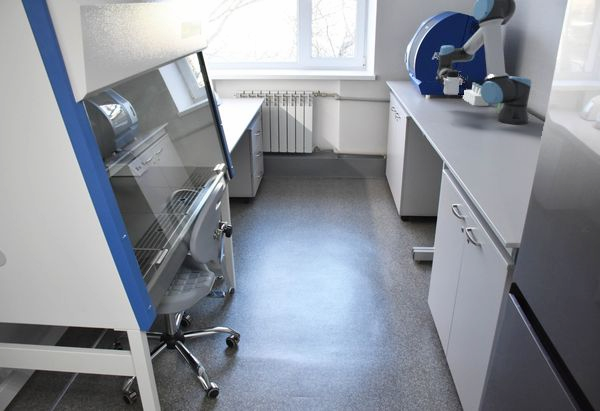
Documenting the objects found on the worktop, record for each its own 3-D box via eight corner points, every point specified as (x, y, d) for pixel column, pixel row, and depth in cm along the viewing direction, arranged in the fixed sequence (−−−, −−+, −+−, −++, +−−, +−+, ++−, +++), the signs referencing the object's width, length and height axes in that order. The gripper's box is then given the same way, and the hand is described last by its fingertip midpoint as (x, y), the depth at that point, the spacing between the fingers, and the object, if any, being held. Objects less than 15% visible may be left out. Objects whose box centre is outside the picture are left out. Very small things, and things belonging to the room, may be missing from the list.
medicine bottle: (458, 94, 258) (461, 71, 253) (444, 94, 259) (446, 71, 255) (457, 92, 264) (459, 69, 260) (443, 92, 266) (445, 69, 261)
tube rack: (488, 105, 299) (491, 87, 295) (473, 105, 299) (476, 87, 295) (476, 98, 319) (478, 81, 315) (462, 99, 319) (464, 81, 315)
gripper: (464, 83, 276) (472, 89, 255) (428, 82, 278) (433, 89, 257) (466, 69, 273) (474, 75, 252) (429, 69, 275) (434, 74, 255)
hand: (453, 82), depth 255 cm, fingers closed on medicine bottle, 7 cm apart
